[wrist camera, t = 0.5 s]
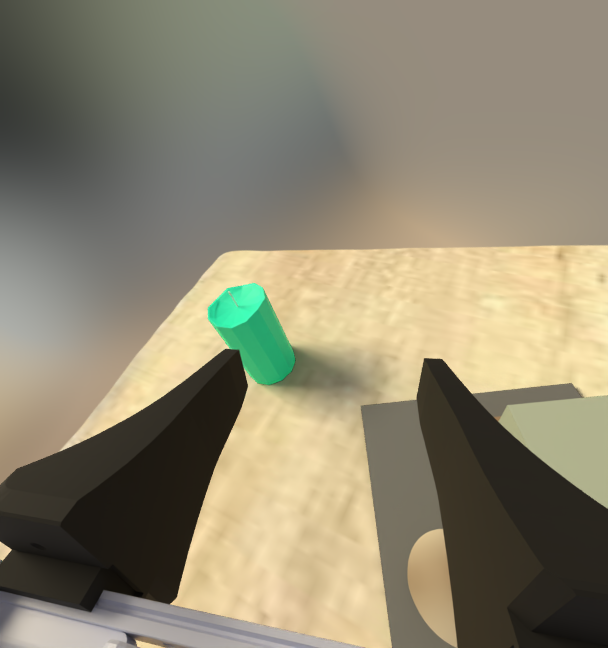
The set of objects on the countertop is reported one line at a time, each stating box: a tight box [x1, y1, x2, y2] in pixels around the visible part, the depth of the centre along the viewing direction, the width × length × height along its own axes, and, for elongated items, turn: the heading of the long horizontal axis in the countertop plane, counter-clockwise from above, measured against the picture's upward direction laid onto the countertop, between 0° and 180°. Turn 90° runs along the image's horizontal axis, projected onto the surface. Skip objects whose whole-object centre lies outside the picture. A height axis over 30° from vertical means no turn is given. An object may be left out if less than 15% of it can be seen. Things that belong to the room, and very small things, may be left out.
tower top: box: [498, 395, 608, 509], centre depth 18 cm, size 6×6×3 cm
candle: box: [208, 283, 296, 385], centre depth 31 cm, size 6×6×12 cm
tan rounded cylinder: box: [408, 529, 458, 648], centre depth 17 cm, size 5×5×5 cm
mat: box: [361, 383, 582, 648], centre depth 20 cm, size 20×18×1 cm
